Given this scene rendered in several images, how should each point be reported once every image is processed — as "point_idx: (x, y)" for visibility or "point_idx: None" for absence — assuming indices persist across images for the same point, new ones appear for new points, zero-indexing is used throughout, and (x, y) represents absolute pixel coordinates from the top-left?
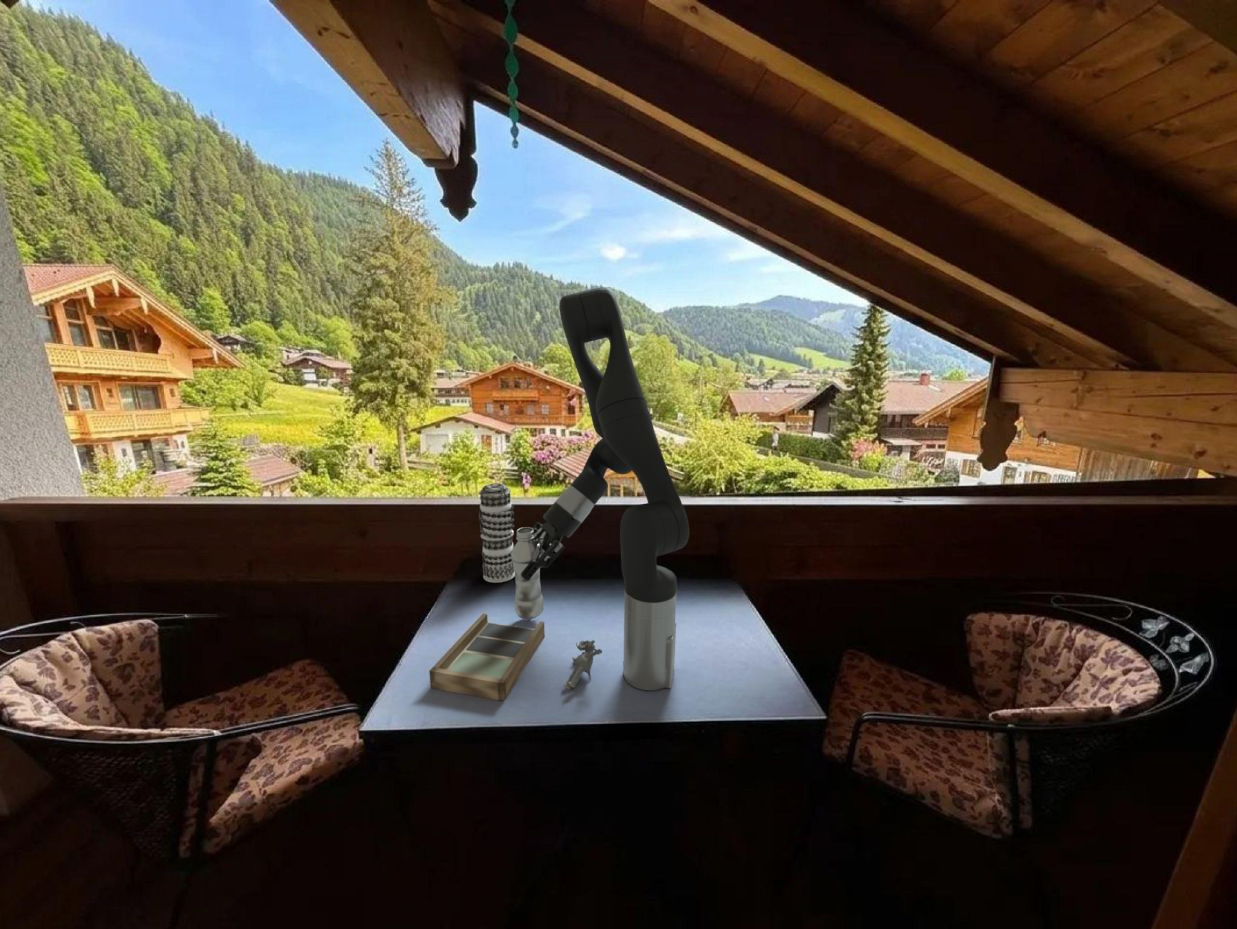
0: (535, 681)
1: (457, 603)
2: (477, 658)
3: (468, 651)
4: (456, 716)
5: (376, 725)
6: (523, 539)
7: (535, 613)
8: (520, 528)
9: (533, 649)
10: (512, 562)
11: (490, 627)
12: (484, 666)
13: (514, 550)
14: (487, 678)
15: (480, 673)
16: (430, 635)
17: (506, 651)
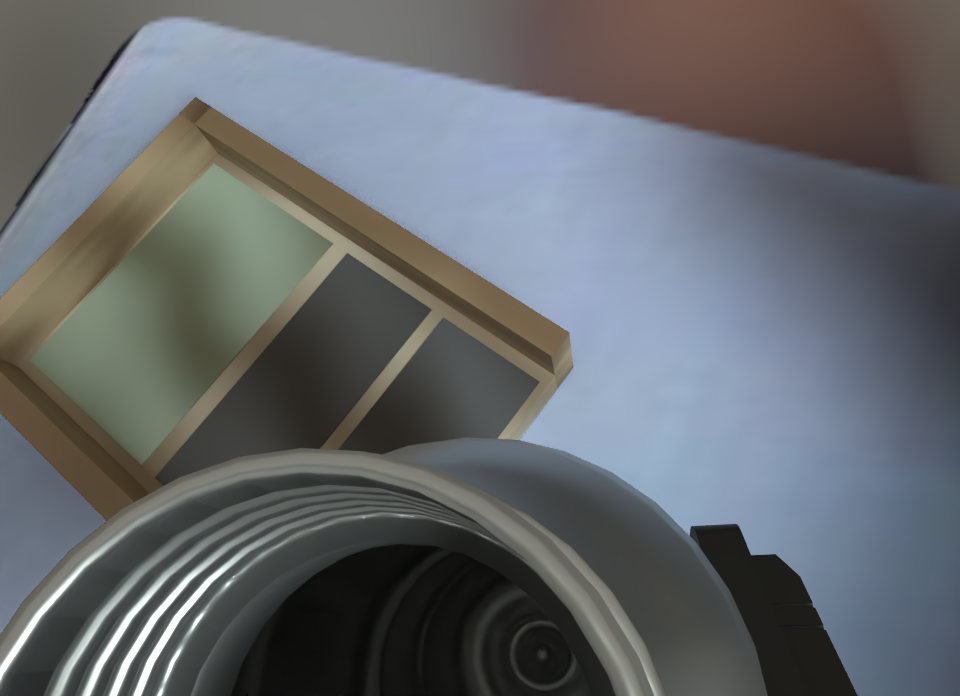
0: (37, 533)
1: (925, 247)
2: (255, 296)
3: (329, 263)
4: (51, 227)
5: (158, 24)
6: (151, 628)
7: (429, 678)
8: (617, 679)
9: None
10: (723, 526)
11: (491, 383)
12: (184, 320)
13: (412, 458)
14: (11, 300)
15: (149, 300)
16: (606, 128)
17: (236, 431)
